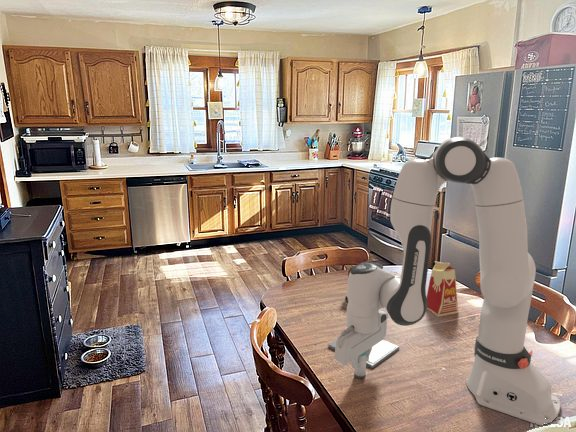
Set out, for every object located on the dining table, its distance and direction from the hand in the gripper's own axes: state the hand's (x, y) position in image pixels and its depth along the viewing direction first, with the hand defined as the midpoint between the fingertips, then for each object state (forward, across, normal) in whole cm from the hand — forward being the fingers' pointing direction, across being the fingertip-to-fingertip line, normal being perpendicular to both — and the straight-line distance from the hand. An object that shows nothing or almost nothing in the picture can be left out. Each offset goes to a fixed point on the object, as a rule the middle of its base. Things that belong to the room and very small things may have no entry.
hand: (360, 363), depth 124 cm
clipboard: (+4, +13, +8) cm, 16 cm away
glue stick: (+4, 0, 0) cm, 4 cm away
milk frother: (+4, +41, +28) cm, 50 cm away
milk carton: (+4, +56, +3) cm, 56 cm away
